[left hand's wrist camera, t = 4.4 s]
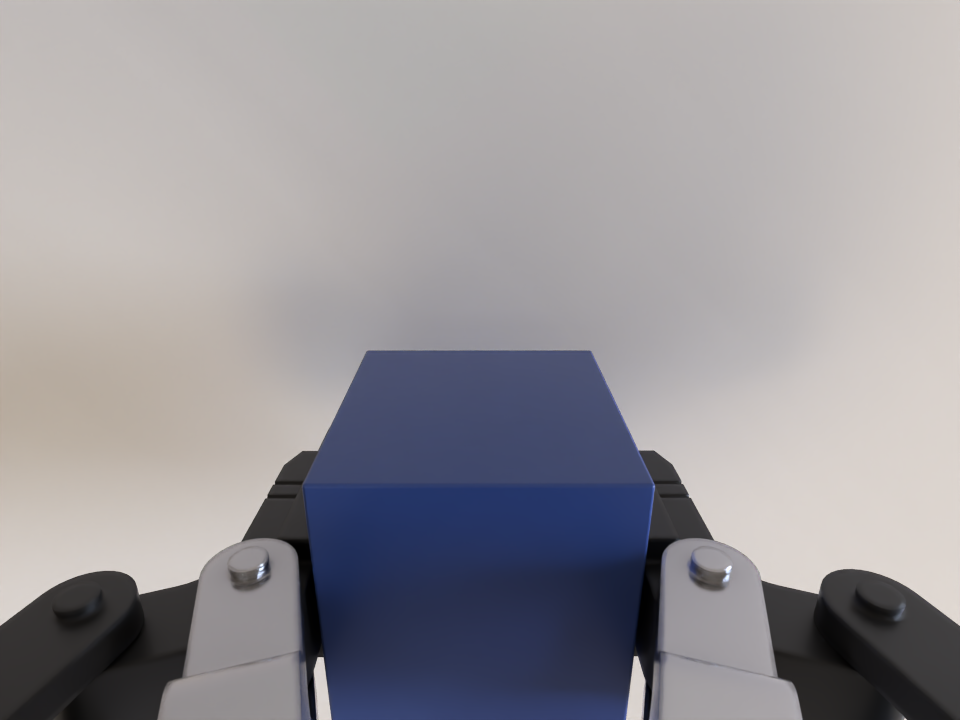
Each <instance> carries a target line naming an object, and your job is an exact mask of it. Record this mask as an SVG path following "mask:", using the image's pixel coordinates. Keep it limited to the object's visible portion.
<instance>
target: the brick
mask: <svg viewBox="0 0 960 720" xmlns="http://www.w3.org/2000/svg"><path fill="white" fill-rule="evenodd" d="M302 490H303V498H304V506H305V514H306V522H307V530H308V538H309V545H310V553H311V561H312V569H313V577H314V585H315V592H316V600H317V608H318V616H319V624H320V632H321V639H322V647H323V655H324V663H325V671H326V679H327V686H328V694H329V702H330V710H331V718H332V720H626V714H627V706H628V698H629V690H630V682H631V674H632V666H633V658H634V650H635V643H636V635H637V627H638V619H639V611H640V603H641V595H642V587H643V579H644V571H645V563H646V555H647V547H648V539H649V531H650V523H651V515H652V507H653V499H654V491H655V485H654V482H653V480H652V478H651V476H650V474H649V472H648V470H647V468H646V465H645V463H644V461H643V459H642V457H641V455H640V453H639V451H638V449H637V447H636V444H635V442H634V440H633V438H632V436H631V434H630V432H629V430H628V428H627V426H626V423H625V421H624V419H623V417H622V415H621V413H620V411H619V409H618V407H617V405H616V402H615V400H614V398H613V396H612V394H611V392H610V390H609V388H608V386H607V384H606V381H605V379H604V377H603V375H602V373H601V371H600V369H599V367H598V365H597V362H596V360H595V358H594V356H593V354H592V352H591V351H367V352H366V354H365V356H364V358H363V360H362V362H361V364H360V366H359V368H358V370H357V373H356V375H355V377H354V379H353V381H352V383H351V385H350V387H349V389H348V391H347V393H346V395H345V397H344V400H343V402H342V404H341V406H340V408H339V410H338V412H337V414H336V416H335V418H334V420H333V422H332V424H331V427H330V429H329V431H328V433H327V435H326V437H325V439H324V441H323V443H322V445H321V447H320V449H319V451H318V454H317V456H316V458H315V460H314V462H313V464H312V466H311V468H310V470H309V472H308V474H307V476H306V478H305V481H304V483H303V485H302Z"/></svg>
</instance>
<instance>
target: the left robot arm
mask: <svg viewBox="0 0 960 720" xmlns="http://www.w3.org/2000/svg"><path fill="white" fill-rule="evenodd" d="M329 429H330V428H329ZM328 431H329V430H328ZM327 433H328V432H327ZM326 435H327V434H326ZM325 437H326V436H325ZM324 439H325V438H324ZM323 441H324V440H323ZM322 443H323V442H322ZM321 445H322V444H321ZM320 447H321V446H320ZM319 449H320V448H319ZM318 451H319V450H318ZM318 451H302V452H301V453H300V454H298V455H297V456H296V457H294V458H293V459H292V460H290V461H289V462H288V463H286V464H285V465H284V466H283V468H282V470H281V472H280V474H279V475H278V477H277V479H276V481H275V485H273V486H272V488H271V490H270V491H269V493H268V497H267V498H266V499H265V500H264V502H263V504H262V506H261V508H260V509H259V511H258V513H257V515H256V516H255V518H254V520H253V522H252V524H251V525H250V527H249V529H248V531H247V533H246V534H245V536H244V538H243V540H242V541H241V542H240V543H237V544H234V545H232V546H230V547H227V548H226V549H224V550H222V551H220V552H219V553H218V554H216V555H215V556H214V557H212V558H211V559H210V560H209V561H208V562H207V564H206V565H205V566H204V568H203V569H202V571H201V574H200V577H199V579H198V580H196V581H193V582H190V583H188V584H184V585H180V586H176V587H172V588H167V589H163V590H159V591H154V592H150V593H145V594H141V595H139V593H138V589H137V586H136V583H135V581H134V580H133V578H132V577H130V576H129V575H127V574H124V573H122V572H116V571H100V572H93V573H88V574H84V575H81V576H77V577H75V578H72V579H69V580H67V581H65V582H63V583H60V584H58V585H57V586H55V587H53V588H51V589H50V590H48V591H47V592H45V593H44V594H42V595H41V596H39V597H38V598H37V599H35V600H34V601H33V602H32V603H30V604H29V605H28V606H26V607H25V608H24V609H22V610H21V611H20V612H18V613H17V614H16V615H14V616H13V617H12V618H10V619H9V620H8V621H6V622H5V623H4V624H2V625H1V626H0V720H318V707H317V692H316V685H315V677H314V668H315V664H316V661H317V657H324V655H323V647H322V639H321V632H320V624H319V616H318V608H317V600H316V592H315V585H314V577H313V569H312V561H311V553H310V545H309V538H308V530H307V522H306V514H305V506H304V498H303V490H302V485H303V483H304V481H305V478H306V476H307V474H308V472H309V470H310V468H311V466H312V464H313V462H314V460H315V458H316V456H317V454H318ZM639 453H640V455H641V457H642V459H643V461H644V463H645V465H646V468H647V470H648V472H649V474H650V476H651V478H652V480H653V482H654V485H655V491H654V499H653V507H652V515H651V523H650V531H649V539H648V547H647V555H646V563H645V571H644V579H643V587H642V595H641V603H640V611H639V619H638V627H637V635H636V643H635V650H634V656H638V657H639V661H640V664H641V668H642V671H643V674H644V677H645V685H644V692H643V707H642V720H904V718H906V719H907V720H960V626H959V625H958V624H956V623H955V622H954V621H952V620H951V619H950V618H948V617H947V616H946V615H944V614H943V613H942V612H940V611H939V610H938V609H936V608H935V607H934V606H932V605H931V604H930V603H928V602H927V601H926V600H925V599H923V598H922V597H921V596H919V595H918V594H917V593H915V592H914V591H912V590H911V589H909V588H908V587H906V586H904V585H902V584H901V583H899V582H897V581H895V580H892V579H890V578H888V577H885V576H882V575H880V574H876V573H873V572H869V571H863V570H855V569H843V570H837V571H834V572H831V573H830V574H828V575H826V577H825V578H824V579H823V581H822V583H821V587H820V591H819V594H814V593H810V592H805V591H801V590H796V589H792V588H787V587H783V586H778V585H775V584H771V583H767V582H765V581H762V580H761V577H760V574H759V571H758V569H757V568H756V566H755V565H754V564H753V562H752V561H751V560H750V559H749V558H748V557H746V556H745V555H744V554H742V553H741V552H740V551H738V550H736V549H734V548H733V547H730V546H728V545H726V544H723V543H720V542H717V541H714V539H713V538H712V536H711V534H710V532H709V530H708V528H707V527H706V525H705V523H704V521H703V519H702V518H701V516H700V514H699V512H698V510H697V509H696V507H695V505H694V503H693V501H692V499H691V498H689V494H688V492H687V490H686V489H685V487H684V485H683V484H681V480H680V478H679V476H678V474H677V472H676V470H675V469H674V467H673V465H672V464H671V463H669V462H668V461H667V460H666V459H664V458H663V457H662V456H660V455H659V454H658V453H656V452H655V451H639Z"/></svg>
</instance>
